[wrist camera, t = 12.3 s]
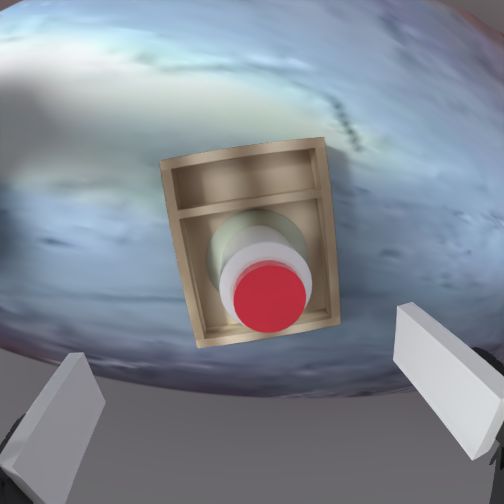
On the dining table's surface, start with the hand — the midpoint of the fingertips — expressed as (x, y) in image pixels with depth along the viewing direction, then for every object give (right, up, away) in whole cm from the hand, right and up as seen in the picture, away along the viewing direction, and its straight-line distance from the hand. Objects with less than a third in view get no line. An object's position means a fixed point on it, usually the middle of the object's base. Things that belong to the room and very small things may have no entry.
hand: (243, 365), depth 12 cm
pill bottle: (+1, +3, +22) cm, 23 cm away
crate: (+1, +6, +23) cm, 23 cm away
